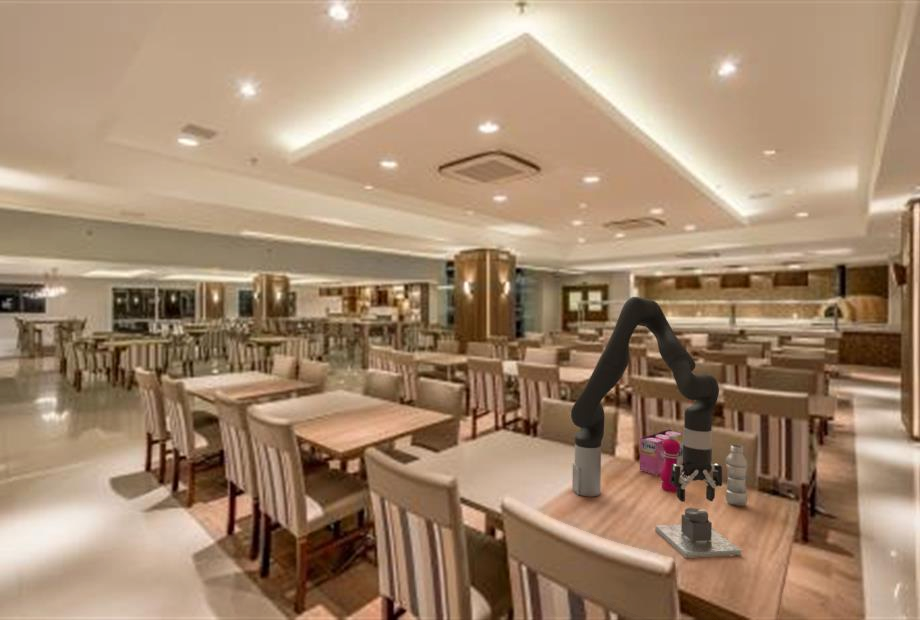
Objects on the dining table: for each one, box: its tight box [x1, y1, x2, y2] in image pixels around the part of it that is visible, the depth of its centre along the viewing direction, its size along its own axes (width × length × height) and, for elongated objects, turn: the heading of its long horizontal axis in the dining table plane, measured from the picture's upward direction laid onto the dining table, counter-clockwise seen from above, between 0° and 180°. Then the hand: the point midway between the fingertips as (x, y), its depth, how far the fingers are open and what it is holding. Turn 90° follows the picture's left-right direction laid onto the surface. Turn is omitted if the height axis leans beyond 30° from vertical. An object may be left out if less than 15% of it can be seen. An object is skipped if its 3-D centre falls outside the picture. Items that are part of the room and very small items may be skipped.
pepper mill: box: [659, 435, 682, 493], centre depth 177 cm, size 7×7×20 cm
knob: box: [681, 507, 713, 541], centre depth 137 cm, size 6×6×7 cm
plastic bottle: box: [724, 444, 748, 507], centre depth 164 cm, size 6×7×20 cm
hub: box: [654, 523, 742, 559], centre depth 138 cm, size 16×16×6 cm
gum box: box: [639, 429, 683, 476], centre depth 201 cm, size 24×8×14 cm, turn 128°
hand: (695, 500), depth 137 cm, fingers open, 8 cm apart
